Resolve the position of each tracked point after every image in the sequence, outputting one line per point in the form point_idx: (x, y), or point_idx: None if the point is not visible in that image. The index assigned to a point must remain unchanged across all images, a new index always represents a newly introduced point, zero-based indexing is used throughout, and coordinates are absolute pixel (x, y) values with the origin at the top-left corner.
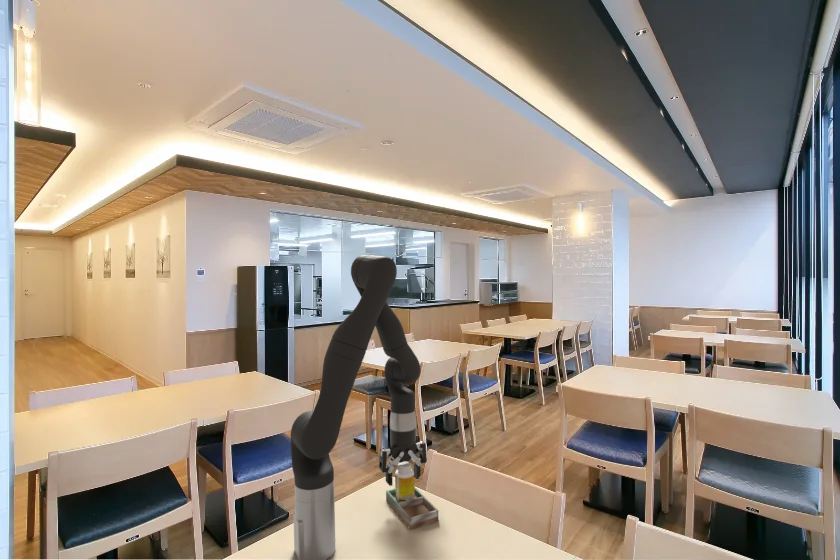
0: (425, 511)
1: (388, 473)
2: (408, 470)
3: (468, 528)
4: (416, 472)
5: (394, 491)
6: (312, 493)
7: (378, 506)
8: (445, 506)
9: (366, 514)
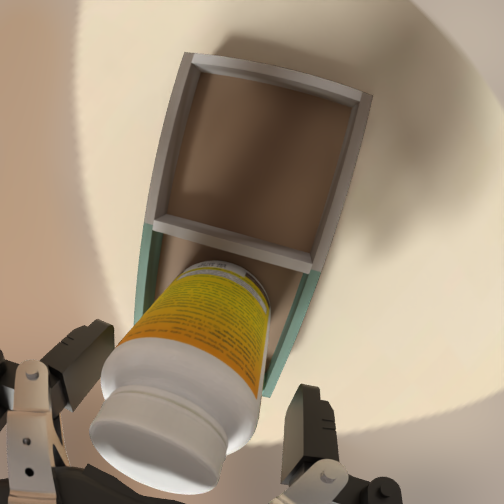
0: (212, 138)
1: (329, 463)
2: (150, 397)
3: None
4: (88, 353)
5: None
6: None
7: (329, 356)
8: (101, 145)
9: (401, 340)
